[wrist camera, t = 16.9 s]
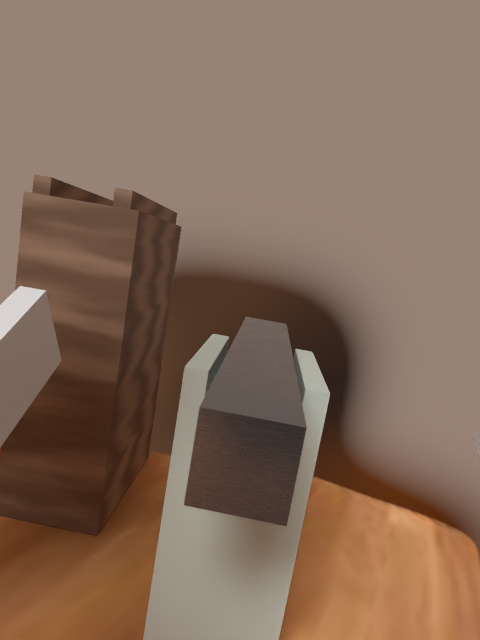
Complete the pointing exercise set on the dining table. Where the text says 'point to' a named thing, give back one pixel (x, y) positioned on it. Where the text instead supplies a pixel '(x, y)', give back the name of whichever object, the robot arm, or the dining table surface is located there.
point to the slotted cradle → (227, 529)
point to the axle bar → (250, 429)
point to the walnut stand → (90, 351)
